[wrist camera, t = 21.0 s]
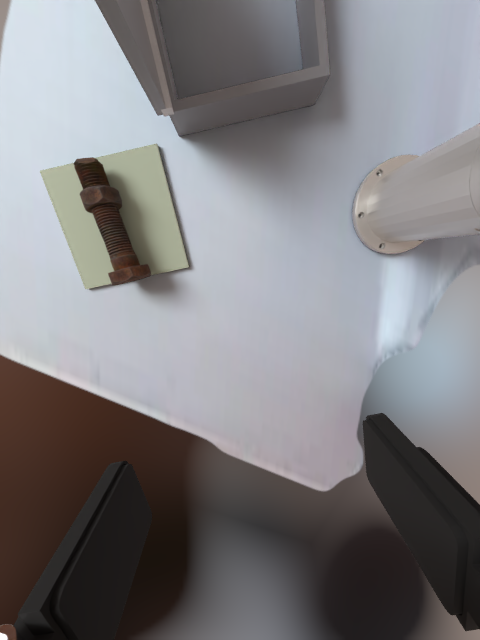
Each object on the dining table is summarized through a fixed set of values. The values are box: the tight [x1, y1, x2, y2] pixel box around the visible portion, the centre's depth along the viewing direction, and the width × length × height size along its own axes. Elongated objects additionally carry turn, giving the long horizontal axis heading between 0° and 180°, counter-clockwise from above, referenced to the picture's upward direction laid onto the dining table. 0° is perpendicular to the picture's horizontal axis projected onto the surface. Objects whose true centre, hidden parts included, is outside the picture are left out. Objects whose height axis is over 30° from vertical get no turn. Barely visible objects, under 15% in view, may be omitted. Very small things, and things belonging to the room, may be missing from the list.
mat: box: [40, 144, 189, 289], centre depth 32 cm, size 16×16×1 cm
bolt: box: [74, 158, 151, 285], centre depth 30 cm, size 6×5×15 cm
